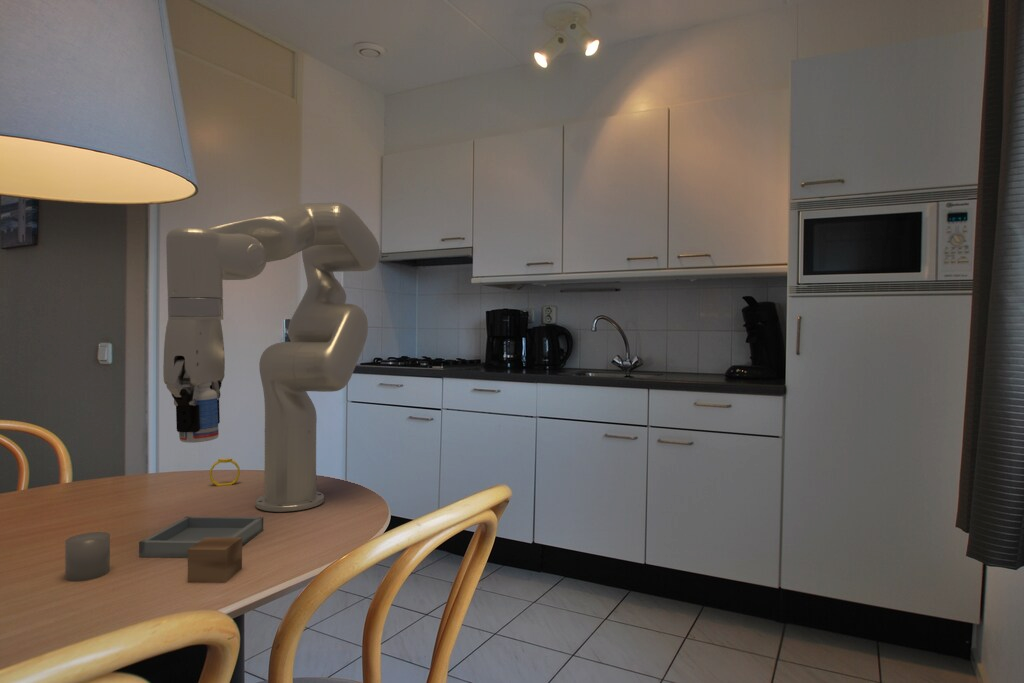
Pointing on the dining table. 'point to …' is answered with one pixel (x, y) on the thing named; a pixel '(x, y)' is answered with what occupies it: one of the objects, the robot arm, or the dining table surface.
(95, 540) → the smooth grey pebble
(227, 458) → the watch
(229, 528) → the slate tray
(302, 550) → the dining table surface
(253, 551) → the dining table surface
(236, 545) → the walnut block
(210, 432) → the pill bottle
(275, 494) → the robot arm
